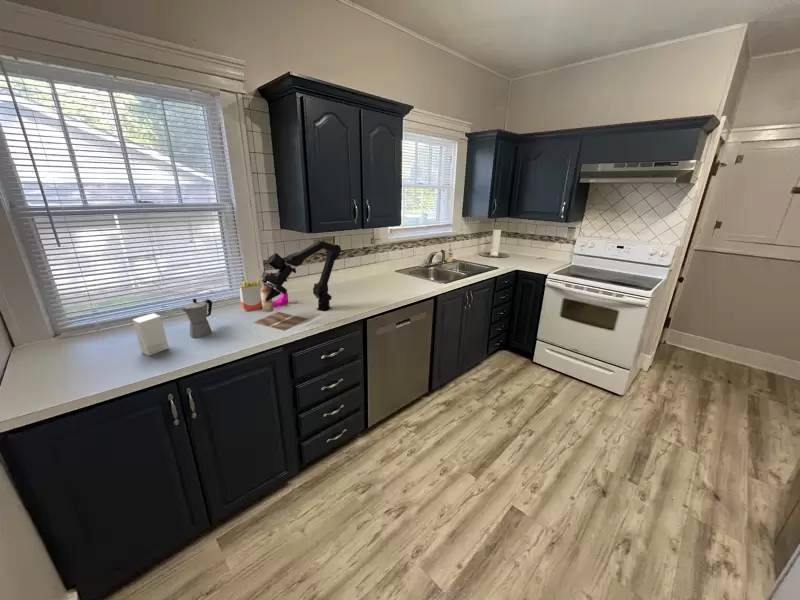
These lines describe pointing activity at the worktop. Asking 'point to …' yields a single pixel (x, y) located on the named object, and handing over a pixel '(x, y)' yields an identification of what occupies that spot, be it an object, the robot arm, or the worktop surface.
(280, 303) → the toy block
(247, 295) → the french fries container
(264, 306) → the wooden pin
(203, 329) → the coffeepot
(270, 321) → the walnut board
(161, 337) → the skincare box
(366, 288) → the worktop surface
